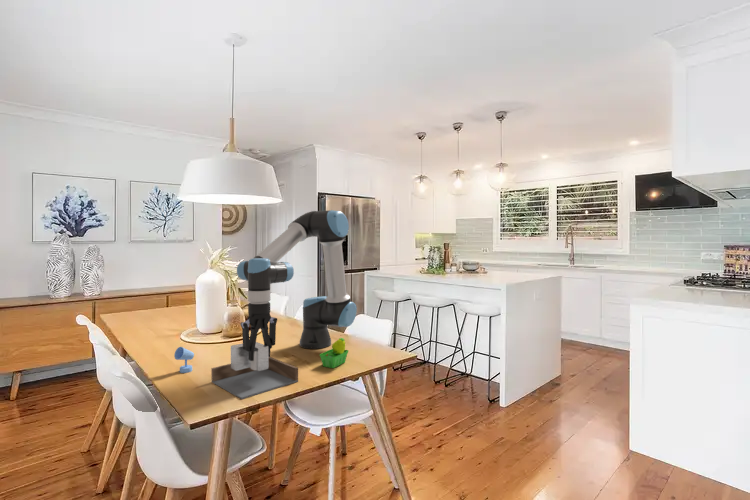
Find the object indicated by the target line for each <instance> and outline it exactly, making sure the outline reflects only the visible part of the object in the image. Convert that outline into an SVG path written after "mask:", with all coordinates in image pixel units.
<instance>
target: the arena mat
mask: <svg viewBox="0 0 750 500" xmlns="http://www.w3.org/2000/svg"><path fill="white" fill-rule="evenodd" d="M298 382H299V379H298V380H297V381H295V380H292V379H290V378H288V377H285V376H283V375H281V374H278V373H276V372H274V371H271V370H269V369H265V370H261V371H256V370H254V371H250V372H247V373H243V374H239V375H235V376H232V377H228V378H224V379H220V380H217V381H212V380H211V383H213V385H216V386H217V387H220V388H221V389H223V390H225V391H226V392H228V393H230V394H231V395H233V396H235V397H237V398H239V399H240V400H245V399H248V398H250V397H251V398H252V397H254V396H257V395H260V394H263V393H266V392H270V391H273V390H276V389H280V388H282V387H286V386H288V385H291V384H295V383H298Z"/></svg>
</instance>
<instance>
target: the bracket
mask: <svg viewBox="0 0 750 500" xmlns="http://www.w3.org/2000/svg"><path fill="white" fill-rule="evenodd" d="M254 351H256V360H257V370H256V371H261V370H265V369H268V346H266V345H264V343H261V342H257V341H256V344H255V350H254ZM230 364H231V368H232V369H234V370H236V371H237V370H241V369H245V368H249V367H250V368H251V361H250V360H249V352H248V351H246V350H244V349H243V342H241V343H239V344H232V345H230Z"/></svg>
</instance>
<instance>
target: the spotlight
mask: <svg viewBox="0 0 750 500" xmlns="http://www.w3.org/2000/svg"><path fill="white" fill-rule="evenodd" d="M194 356H195V353H194V352H193V351H192V350H189V349H187V348H185V347H183V346H178V347H177V348H176V349H175V352H174V359H175V360H177V361H180V360H182V361H184V365H181V366H179V373H181V374H186V373H191V372H192V371H193V365H192V364H188V361H190V360H193V359H194Z"/></svg>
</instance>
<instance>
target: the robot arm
mask: <svg viewBox="0 0 750 500" xmlns="http://www.w3.org/2000/svg"><path fill="white" fill-rule="evenodd" d="M349 228H350V226H349V220H348V218H347V216H346V215H345V214H344V212H342V211H340V210H333V209H331V210H330V209H329V210H311V211H308V212H305V213H303V214H301V215H300V216H298V217H297V218H295V219H294V220H293V221H291V223H290V224H289V225H288V226H287V229H285V231H283V232H282V233H280V235H279V236H278V237H277V238H275V239H274V240H273V241H272V242H271V243H269V244H268V245H267V246H266V247H265V248H264V249H262V250H261V251H259V253H258V254H256V255H255V256H254V257H253V258H250V259H248V260H245V261H244V260H243V261H241V262H239V264H238V265H237V267H236V274H237V277H238V278H239V279H241V280H243V281H247V287H248V288H247V289H248V291H247V298H248V299H247V301H248V302H249V303H248V304H247V309H248V310H247V313H248V316H247V320H245V321H244V322H243V321H241V322H240V323H239V324H240V327H241V331H242V333H241V334H242V343H243V349H244V350H246V351H248V352H249V360H250V361H251V369H252V370H257V360H256V351H254V350H255V344H256V342H257V337H258V333H259V330H261V335H262V339H263V345H266V346H268V367H269V357H271V349H273V346H275V345H276V340H277V339H276V337H277V336H276V335H277V334H276V333H277V331H276V330H277V322H278V318H277V317H273V316H271V302H270V301H271V285H272V284H277V283H278V284H279V283H286V282H289V281H290V280H292V279H293V277H294V274H295V272H294V267H293V265H292V264H291V263H290V262H287V261H280V260H281V259H282V258H283V257H285V255H286V254H288V252H289V251H291V250H292V249H293V248H294V247H295V246H297V244H298V243H300V242H303V241H305V240H306V239H308V238H313V237H318V243H319V244H321V245H322V251H323V258H324V267H325V268H324V269H325V277H326V279H325V280H326V287H327V289H326V290H327V296H326V295H323V296H315V297H314V296H313V297H308V298H305V299H304V300H303V302H302V303H303V304H302V323H303V324H302V326H303V329H302V333H301V336H300V338H299V346H300V347H301V348H304V349H310V350H311V349H312V350H314V349H324V348H328V347H329V346H332V337H331V336H330V332H329V329H328V326H333V327H339V328H342V327H343V328H344V327H345V328H348V327H350V326H351V325H352V324H353V323H354V321H355V319H356V317H357V310H358V309H357V305H356V303H355V302H353V301H351V296H350V294H349V293H347V292H348V291H347V282H346V275H345V274H346V273H345V265H344V264H345V263H344V262H345V261H344V252H343V242H345V237H346V236H347V234H348V233H349ZM279 261H280V262H279ZM249 327H250V329H249Z"/></svg>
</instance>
